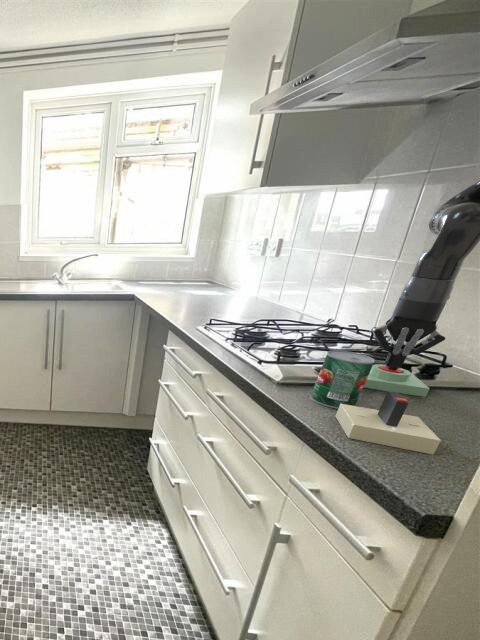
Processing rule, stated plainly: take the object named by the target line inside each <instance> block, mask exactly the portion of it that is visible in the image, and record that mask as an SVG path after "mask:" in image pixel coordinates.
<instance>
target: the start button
mask: <svg viewBox="0 0 480 640" xmlns="http://www.w3.org/2000/svg"><path fill="white" fill-rule="evenodd" d="M380 369H382V370H384V371H388V372H393V373H402V372H403V371H402V370H401V369H397V370H393V369H388V368H387V367H386V366H381V367H380Z"/></svg>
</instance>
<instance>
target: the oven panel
mask: <svg viewBox="0 0 480 640" xmlns="http://www.w3.org/2000/svg"><path fill="white" fill-rule="evenodd" d="M378 411H379V409H375V408H369V407H364V406H357V405H355V406H351V405H346V404H340V406H339V408H338V409H337V411H336V413H335V418H336V420H337V421H338V423H339V425H340V427H341V429H342V430H343V432H344V433H345V435H346V436H347V438H348V439H352V440H356V441H362V442H367V443H372V444H376V445H382V446H387V447H391V448H397V449H403V450H407V451H412V452H418V453H422V454H428V455H431V456H432V455H435V453H436V451H437V449H438V447H439V445H440V444H441V442H442V440H441V439H440V438H439V436H438V435H436V433H435V432H434V431H433V430H432V429H431V428H429V426H428V425H426V423H425V422H424V421H423V420H422V419H421V418H420V417H419V416H415V415H409V414H405V413H404V414H403V416H402V418H401V420H400V422H399V424H398V426H397V427H396V426H390V425H386V424H385V423H384V421H383V420H382V419H381V418H380V417H379V415H378Z"/></svg>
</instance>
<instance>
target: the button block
mask: <svg viewBox="0 0 480 640" xmlns="http://www.w3.org/2000/svg"><path fill="white" fill-rule="evenodd" d="M381 366H386V365H385V364H381V363H380V364H377V363H376V364H373V366H372V369H371V371H370V373H369V375H368V378H367V380H366V382H365V384H364V387H363V389H364V388H366V389H371V390H377V391H378V390H379V391H383V392H384V391H385V392H388V391H390V392H397V393H399V394H404V395H410V396H417V397H422V398H426V397H427V396H428V393H429V392H430V387H429V386H427V384H425V383H424V382H423V381H422V380H420V379H419V378H418V377H417V376H416V375H414V374H413V373H412V372H411V371H410V370H408V369H405V368H402V367H401V368H398V369H401V370H402V371H403V372H402V373H393V372H388V371H384V370H382V369H380V367H381Z"/></svg>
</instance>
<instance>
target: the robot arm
mask: <svg viewBox="0 0 480 640" xmlns="http://www.w3.org/2000/svg"><path fill="white" fill-rule="evenodd" d="M427 222H428V223H427V227H428V230H429V232H431V233H432V234H434V235H436V236H437V237H436V239H435V240H434V242H433V243H432V245H431V247H430V248H428V249H426V250H424V251H423V252H421V254H420V255H419V257H418V258H417V261H416V263H415V265H414V267H413V269H412V272H411V274H410V276H409V278H408V280H407V281H406V283H405V284H404V287H403V289H402V291H401V293H400V295H399V298H398V300H397V303H396V305H395V306H394V310H393V311H392V313H391V314H392V315H391V316H390V318H389V319H388V320H386V322H385V324H383V325H379V326H378V327H377V326H373V327H372V328H371V329H370V330H371V332H372V335H373V336H374V338H375V339H376V341H377V343H378V345H379V347H380V348H381V349H383V351H385V352H388V354H387V356H386V359H385V360H384V365H386V367H387V368H388V369H393V370H397V369H398V368H402V367H403V366H404V363H405V361H406V359H407V357H408V356H410V355H415V356H417V355H420V354H422V353H424V352H426V351H428V350H430V349H431V348H433V347H435V346H436V345H438V344H440V343H442V342H444V341H446V337H445V336H444V335H442V334H441V333H439V332H438V331H437V329H438V326H437V323H438V321H439V319H440V317H441V315H442V313H443V310H444V309H445V306H446V305H447V303H448V300H449V299H450V298H451V294H452V292H453V289H454V285H455V282H456V280H457V279H458V276H459V274H460V272H461V269H462V267H463V266H464V263H465V260H466V259H467V258H468V256H469V255H470V254H471V253H472V252H473V251H474V250H475V248H476V247H477V246H478V245H479V243H480V179H479V180H478V181H476V182H475V183H473V184H471V185H469V186H468V187H466V188H465V189H463V190H461V191H460V192H458V193H457V194H455V195H454V196H452V197H450V198H449V199H448V200H447V201H445V202H444V203H443V204H442V205H440V206H439V207H438V208H437V209H435V211H434V212H433V213H432V214H431V216H430V217H429V219H428V221H427ZM387 331H388V333H389V335H390V337H391V340H390V344H389V342H388V340H387V339H386V337H385V335H387ZM424 338H425V339H424ZM423 339H424V340H423ZM419 341H420V342H419Z"/></svg>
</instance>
